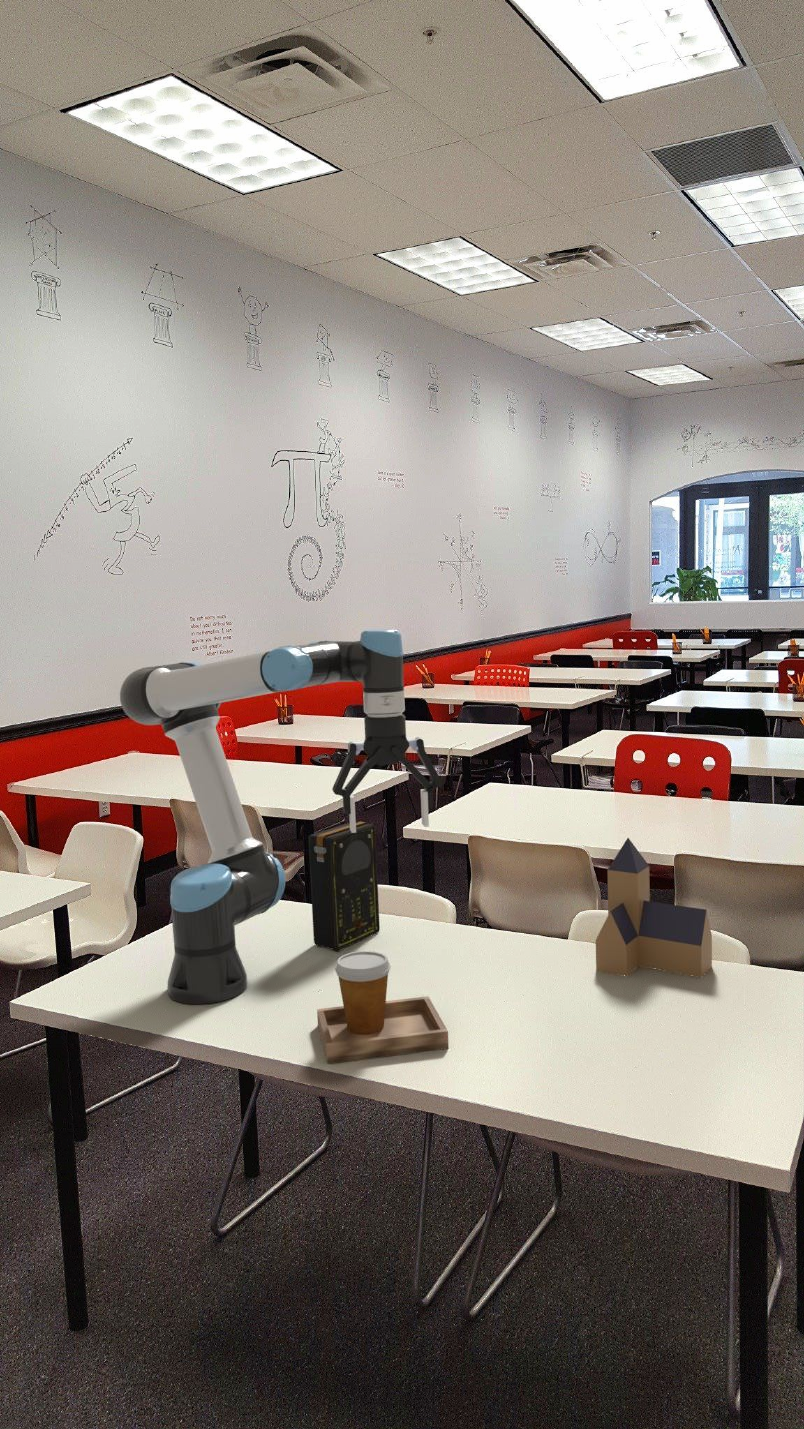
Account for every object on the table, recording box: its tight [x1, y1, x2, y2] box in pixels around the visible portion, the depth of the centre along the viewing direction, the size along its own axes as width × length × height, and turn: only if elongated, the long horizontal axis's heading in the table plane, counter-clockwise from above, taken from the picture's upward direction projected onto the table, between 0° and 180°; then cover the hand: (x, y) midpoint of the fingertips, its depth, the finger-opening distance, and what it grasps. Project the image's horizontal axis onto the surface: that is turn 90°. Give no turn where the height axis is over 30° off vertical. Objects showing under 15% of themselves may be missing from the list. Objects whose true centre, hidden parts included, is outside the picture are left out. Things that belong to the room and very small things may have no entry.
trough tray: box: [316, 995, 450, 1065], centre depth 170 cm, size 20×15×3 cm
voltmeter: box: [308, 821, 381, 953], centre depth 218 cm, size 16×9×25 cm, turn 143°
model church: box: [595, 837, 713, 978], centre depth 195 cm, size 12×19×25 cm
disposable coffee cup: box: [334, 950, 392, 1035], centre depth 172 cm, size 10×10×12 cm
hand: (389, 828), depth 186 cm, fingers open, 13 cm apart
